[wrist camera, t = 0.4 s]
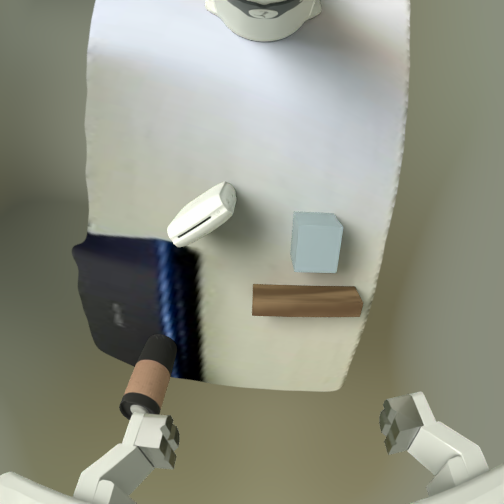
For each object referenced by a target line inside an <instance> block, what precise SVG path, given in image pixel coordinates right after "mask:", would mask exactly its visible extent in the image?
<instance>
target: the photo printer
mask: <svg viewBox="0 0 504 504" xmlns="http://www.w3.org/2000/svg"><path fill="white" fill-rule="evenodd" d="M236 200H237V198H236V192H235V189H234V187H233V186H232V185H230V184H229V183H226V182H222V183H220V184H218V185H216V186H214V187H213V188H211V189H209V190H208V191H206V192H205V193H203V194H201V195H200V196H198V197H197V198H196V199H194V200H193V201H191V202H190V203H188V204H187V205H186V206H185V207H183V208H182V210H181V211H180V212H179V213H178V214H177V216H176V217H175V218H174V220H173V221H172V222H171V224H170V225H169V226H168V228H167V232H168V236H169V238H170V239H171V240H172V241H173V243H174V245H176V246H177V247H183V246H187V245H189V244H191V243H193V242H195V241H197V240H198V239H200V238H202V237H204V236H205V235H207V234H209V233H210V232H212V231H213V230H215V229H216V228H218V227H219V226H221V225H222V224H223V223H224V222H226V221H227V220H228V219H229V218H230V217H231V216H232V215H233V213H234V208H235V204H236Z"/></svg>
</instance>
